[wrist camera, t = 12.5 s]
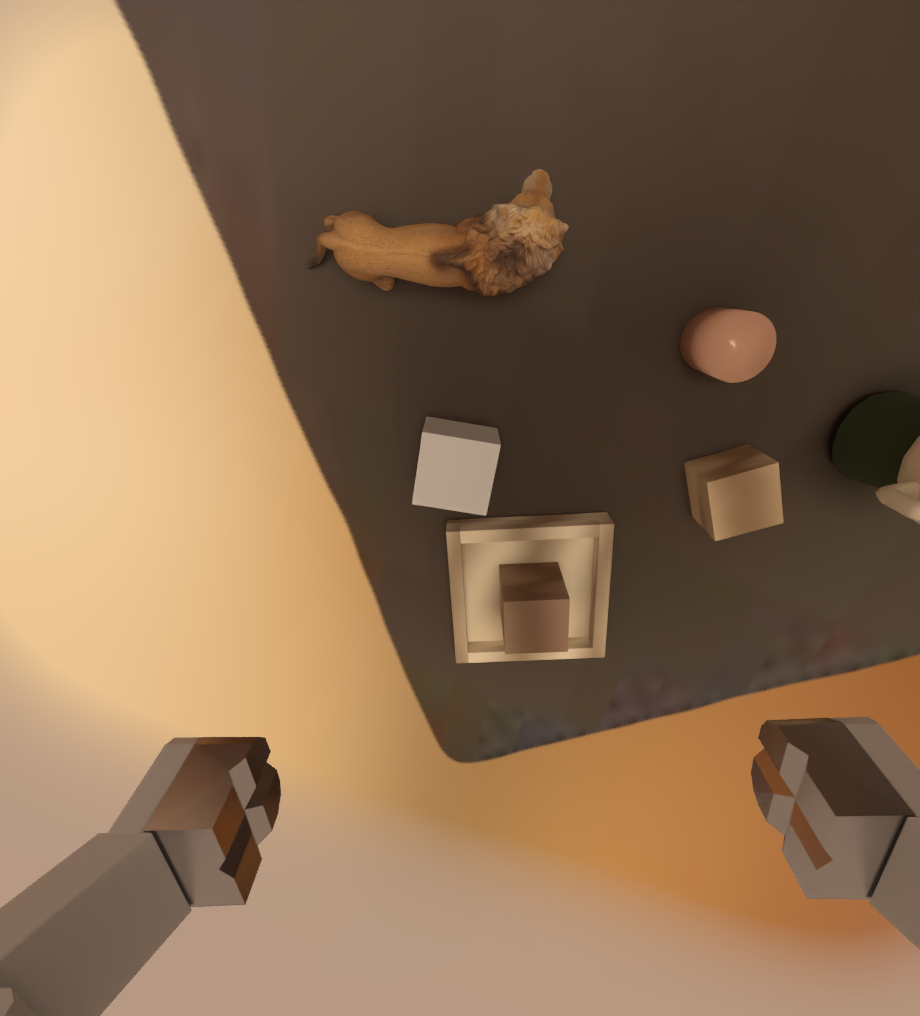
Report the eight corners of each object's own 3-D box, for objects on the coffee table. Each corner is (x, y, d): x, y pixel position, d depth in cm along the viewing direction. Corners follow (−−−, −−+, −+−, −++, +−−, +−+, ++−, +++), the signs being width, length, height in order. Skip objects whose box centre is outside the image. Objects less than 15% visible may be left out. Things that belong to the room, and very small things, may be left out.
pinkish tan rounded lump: (747, 305, 33) (782, 309, 29) (737, 369, 35) (769, 380, 31) (683, 308, 33) (710, 313, 29) (676, 372, 35) (701, 384, 31)
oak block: (747, 443, 37) (778, 462, 33) (753, 499, 39) (783, 522, 35) (683, 462, 37) (706, 482, 34) (692, 516, 39) (715, 541, 36)
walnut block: (557, 561, 40) (569, 599, 35) (556, 610, 42) (567, 651, 37) (499, 564, 40) (503, 601, 36) (500, 612, 42) (504, 654, 37)
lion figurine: (544, 186, 30) (574, 155, 22) (548, 285, 33) (577, 289, 24) (298, 219, 31) (239, 201, 23) (318, 313, 33) (271, 327, 25)
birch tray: (607, 512, 39) (614, 524, 37) (598, 641, 44) (604, 657, 42) (446, 519, 39) (446, 532, 37) (456, 647, 44) (456, 663, 42)
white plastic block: (497, 427, 36) (500, 445, 33) (483, 492, 39) (486, 515, 35) (426, 415, 36) (422, 432, 33) (416, 481, 38) (411, 504, 35)
